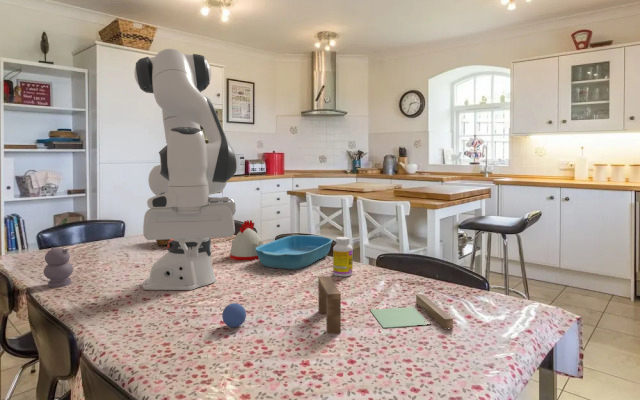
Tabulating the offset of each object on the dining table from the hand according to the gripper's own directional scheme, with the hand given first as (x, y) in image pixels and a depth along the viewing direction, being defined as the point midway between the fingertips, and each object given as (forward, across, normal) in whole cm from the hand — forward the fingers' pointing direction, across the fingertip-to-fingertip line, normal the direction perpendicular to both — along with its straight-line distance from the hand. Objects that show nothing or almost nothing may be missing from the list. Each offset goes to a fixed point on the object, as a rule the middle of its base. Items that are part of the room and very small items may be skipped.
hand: (191, 257), depth 99 cm
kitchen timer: (+17, -11, -73) cm, 76 cm away
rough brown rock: (+17, +24, -104) cm, 108 cm away
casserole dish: (+18, -30, -64) cm, 73 cm away
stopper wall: (+18, -59, +1) cm, 62 cm away
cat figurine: (+17, +48, -45) cm, 68 cm away
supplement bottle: (+18, -44, -40) cm, 62 cm away
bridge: (+18, -32, 0) cm, 37 cm away
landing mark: (+18, -50, +1) cm, 53 cm away
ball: (+15, -9, 0) cm, 17 cm away
